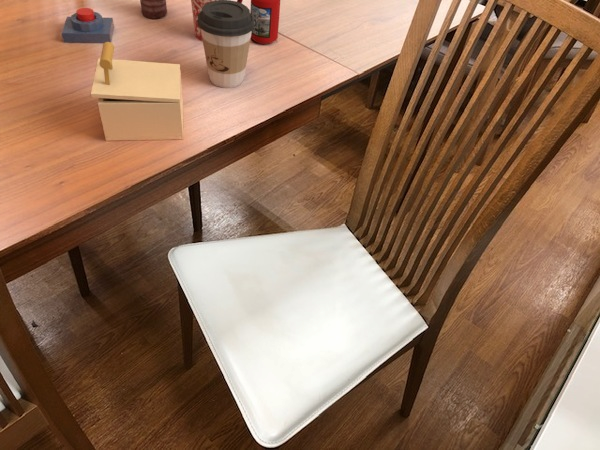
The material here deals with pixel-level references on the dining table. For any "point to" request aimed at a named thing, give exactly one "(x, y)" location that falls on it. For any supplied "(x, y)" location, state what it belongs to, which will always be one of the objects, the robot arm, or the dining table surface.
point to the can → (154, 8)
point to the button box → (88, 30)
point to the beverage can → (265, 20)
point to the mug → (197, 3)
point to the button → (85, 14)
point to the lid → (135, 79)
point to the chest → (141, 119)
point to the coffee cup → (226, 40)
